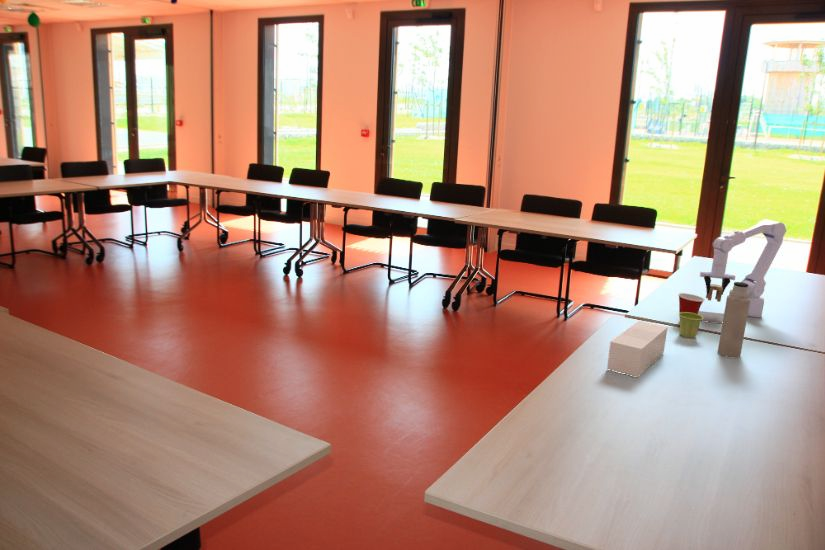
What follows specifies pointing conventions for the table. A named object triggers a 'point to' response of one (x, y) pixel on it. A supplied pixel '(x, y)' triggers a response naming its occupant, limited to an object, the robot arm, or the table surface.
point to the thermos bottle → (734, 321)
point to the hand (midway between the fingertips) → (714, 293)
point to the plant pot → (689, 324)
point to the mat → (711, 316)
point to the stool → (718, 292)
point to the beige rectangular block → (637, 348)
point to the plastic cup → (689, 303)
